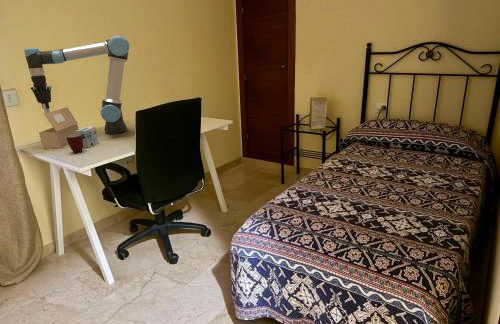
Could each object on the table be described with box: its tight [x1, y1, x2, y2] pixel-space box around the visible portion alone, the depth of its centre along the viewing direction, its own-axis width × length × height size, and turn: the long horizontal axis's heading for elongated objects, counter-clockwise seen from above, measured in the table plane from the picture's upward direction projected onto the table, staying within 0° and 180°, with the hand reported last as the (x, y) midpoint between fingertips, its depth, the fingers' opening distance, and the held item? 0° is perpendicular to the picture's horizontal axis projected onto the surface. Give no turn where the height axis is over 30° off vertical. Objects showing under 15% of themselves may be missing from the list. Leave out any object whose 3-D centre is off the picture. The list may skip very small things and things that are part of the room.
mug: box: [67, 134, 83, 154], centre depth 201 cm, size 10×8×10 cm
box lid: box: [43, 106, 78, 132], centre depth 214 cm, size 12×20×1 cm
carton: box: [38, 124, 79, 149], centre depth 219 cm, size 12×20×10 cm, turn 170°
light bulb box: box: [76, 126, 99, 149], centre depth 212 cm, size 11×7×11 cm, turn 168°
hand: (47, 113), depth 215 cm, fingers closed
